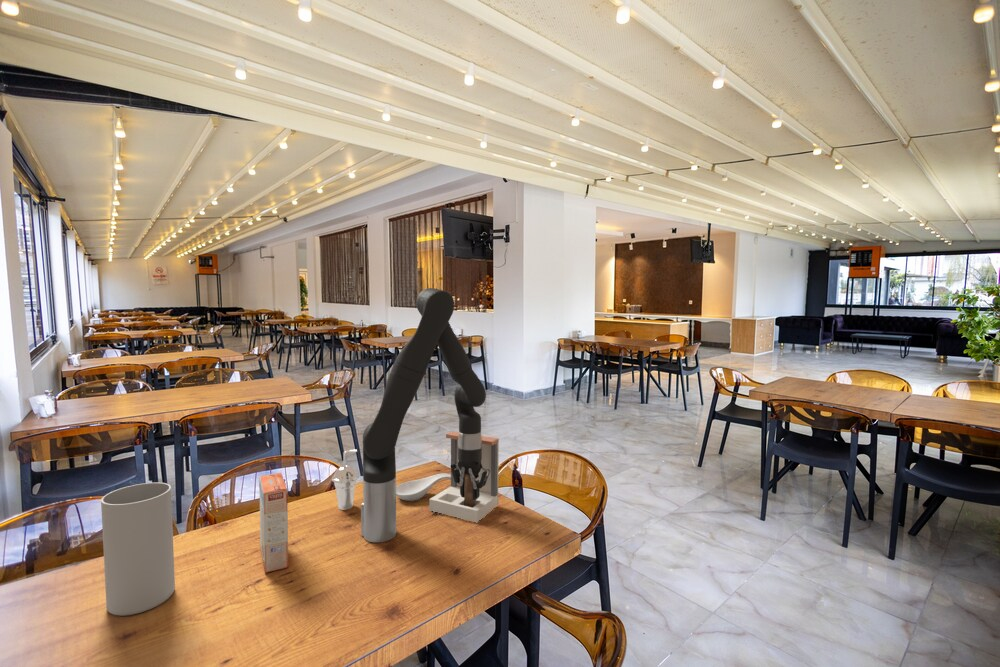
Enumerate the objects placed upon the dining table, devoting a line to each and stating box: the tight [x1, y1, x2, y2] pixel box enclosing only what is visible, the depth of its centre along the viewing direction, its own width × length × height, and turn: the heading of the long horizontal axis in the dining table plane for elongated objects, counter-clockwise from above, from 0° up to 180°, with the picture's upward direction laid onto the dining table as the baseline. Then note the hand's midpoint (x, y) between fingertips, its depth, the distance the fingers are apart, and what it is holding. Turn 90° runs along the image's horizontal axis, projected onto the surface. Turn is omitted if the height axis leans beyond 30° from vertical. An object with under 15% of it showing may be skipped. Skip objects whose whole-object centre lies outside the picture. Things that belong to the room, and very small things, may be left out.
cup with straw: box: [331, 449, 360, 511], centre depth 157 cm, size 8×9×20 cm
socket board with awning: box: [428, 430, 500, 524], centre depth 157 cm, size 18×14×23 cm
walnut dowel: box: [464, 474, 475, 508], centre depth 153 cm, size 4×4×12 cm
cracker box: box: [258, 472, 289, 574], centre depth 126 cm, size 14×6×21 cm, turn 30°
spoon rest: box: [396, 472, 451, 502], centre depth 168 cm, size 24×12×7 cm, turn 108°
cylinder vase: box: [100, 482, 176, 617], centre depth 108 cm, size 12×12×25 cm
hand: (469, 497), depth 153 cm, fingers open, 3 cm apart
